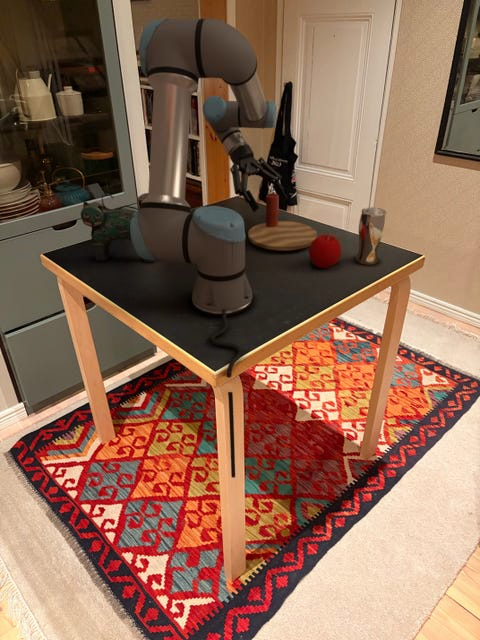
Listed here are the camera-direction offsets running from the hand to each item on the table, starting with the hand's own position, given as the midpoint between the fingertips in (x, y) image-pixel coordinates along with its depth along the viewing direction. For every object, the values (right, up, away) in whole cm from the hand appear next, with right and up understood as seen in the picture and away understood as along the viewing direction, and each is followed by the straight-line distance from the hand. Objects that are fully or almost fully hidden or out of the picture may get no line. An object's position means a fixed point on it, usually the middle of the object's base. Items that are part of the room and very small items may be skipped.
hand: (271, 204), depth 153 cm
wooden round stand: (+3, -11, -3) cm, 12 cm away
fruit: (+14, -22, -18) cm, 32 cm away
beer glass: (+27, -21, -16) cm, 37 cm away
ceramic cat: (-45, -20, -12) cm, 51 cm away
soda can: (-40, -7, +7) cm, 42 cm away
